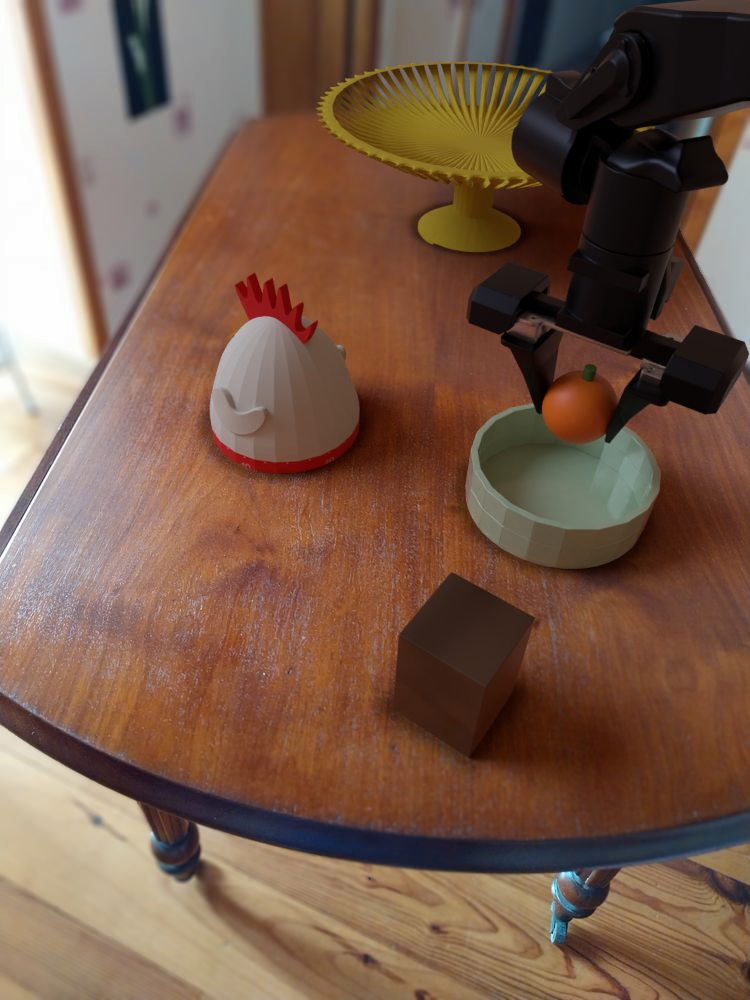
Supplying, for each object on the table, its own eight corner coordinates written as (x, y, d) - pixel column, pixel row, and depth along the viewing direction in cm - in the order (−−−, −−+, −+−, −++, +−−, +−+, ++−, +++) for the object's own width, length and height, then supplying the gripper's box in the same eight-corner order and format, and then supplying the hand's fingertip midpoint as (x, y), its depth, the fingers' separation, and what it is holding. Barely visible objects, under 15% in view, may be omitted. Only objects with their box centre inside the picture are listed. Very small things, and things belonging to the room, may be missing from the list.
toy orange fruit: (619, 431, 60) (641, 363, 55) (589, 469, 57) (611, 400, 52) (555, 404, 62) (572, 337, 57) (523, 439, 59) (538, 371, 54)
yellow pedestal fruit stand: (326, 165, 114) (324, 54, 104) (589, 172, 115) (614, 63, 104) (309, 305, 86) (303, 174, 75) (657, 314, 87) (701, 185, 76)
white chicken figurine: (277, 365, 78) (266, 227, 67) (387, 415, 73) (393, 273, 62) (181, 436, 70) (150, 291, 59) (297, 498, 64) (286, 351, 54)
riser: (512, 693, 52) (535, 617, 45) (468, 760, 48) (486, 687, 42) (439, 649, 54) (451, 570, 48) (391, 710, 51) (398, 634, 44)
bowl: (669, 490, 66) (687, 448, 63) (598, 602, 57) (615, 560, 54) (516, 423, 72) (525, 381, 69) (431, 515, 63) (436, 472, 60)
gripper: (812, 231, 48) (726, 419, 60) (551, 159, 56) (517, 339, 67) (764, 302, 42) (677, 499, 53) (475, 211, 49) (452, 400, 60)
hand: (575, 425), depth 59 cm, fingers closed on toy orange fruit, 5 cm apart
